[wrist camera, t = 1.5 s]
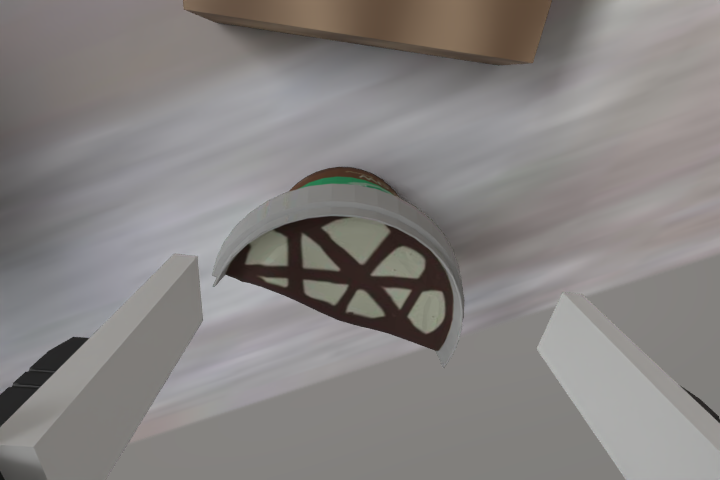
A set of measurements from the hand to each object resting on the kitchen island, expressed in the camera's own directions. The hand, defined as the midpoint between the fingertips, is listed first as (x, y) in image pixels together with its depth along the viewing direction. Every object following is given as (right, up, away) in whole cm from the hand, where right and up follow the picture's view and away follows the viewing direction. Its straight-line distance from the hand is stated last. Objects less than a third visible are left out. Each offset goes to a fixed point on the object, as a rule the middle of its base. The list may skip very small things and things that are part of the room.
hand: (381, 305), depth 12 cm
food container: (-1, +5, +11) cm, 12 cm away
